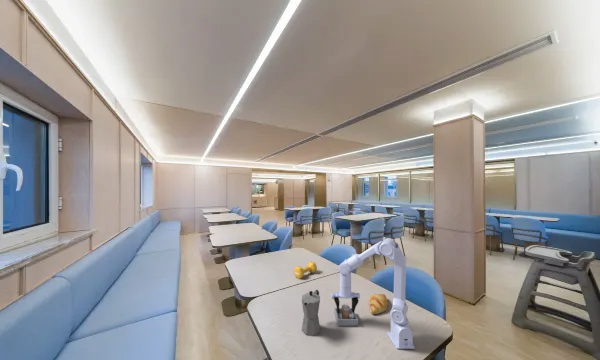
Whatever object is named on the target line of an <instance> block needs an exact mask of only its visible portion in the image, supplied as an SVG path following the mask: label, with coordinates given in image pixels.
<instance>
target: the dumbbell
mask: <svg viewBox="0 0 600 360" xmlns="http://www.w3.org/2000/svg"><path fill="white" fill-rule="evenodd" d="M317 270H318V266H317V263H315V262H314V261H309V262H308V263H307V265H306V267H302V266H295V267H294V269H293V274H294V277H295V278H297V279H298V280H301V279H302V278H304V275H305V274H306V273H310V274H315V273H316V272H317Z"/></svg>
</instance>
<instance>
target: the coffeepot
mask: <svg viewBox="0 0 600 360" xmlns="http://www.w3.org/2000/svg"><path fill="white" fill-rule="evenodd" d="M320 303H321V295H320V292H319V290H318V289H316V290H315V291H313V290H310V291H308V292H306V293H304V294H302V295H301V304H302V310H303V311H302V312H303V319H302V326H301V331H303V332H304V333H305V336H308V337H309V336H310V337H314V336H317V335H319V333H320V332H321V331H320V330H321V328H320V327H321V325H320V320H319V310H320ZM303 332H302V333H303ZM304 333H303V334H304Z"/></svg>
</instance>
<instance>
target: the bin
mask: <svg viewBox="0 0 600 360" xmlns="http://www.w3.org/2000/svg"><path fill="white" fill-rule="evenodd" d="M333 311H334V312H333V314H334V317H335V322H336V323H337V326H338V327H359V319H358V317H357V314H356V312H355V311H354V313H353V312H352V307H350V318H349V319H342V307H339V313H338V312H337V307H334V308H333Z"/></svg>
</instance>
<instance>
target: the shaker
mask: <svg viewBox="0 0 600 360" xmlns="http://www.w3.org/2000/svg"><path fill="white" fill-rule="evenodd" d="M341 308H342V319H349V318H350V308H351V307H350V305H348V304H342V305H341Z"/></svg>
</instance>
